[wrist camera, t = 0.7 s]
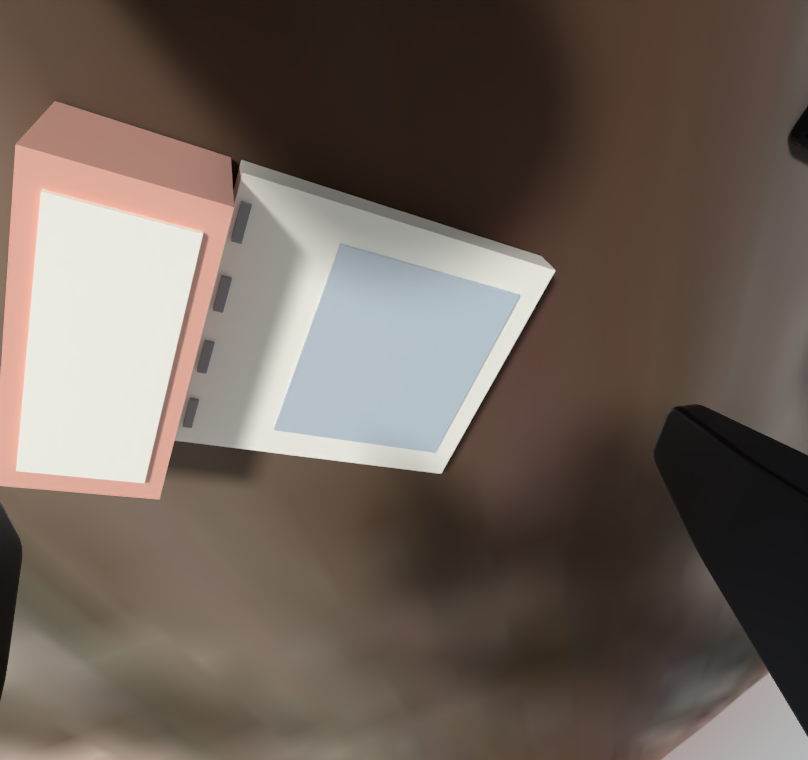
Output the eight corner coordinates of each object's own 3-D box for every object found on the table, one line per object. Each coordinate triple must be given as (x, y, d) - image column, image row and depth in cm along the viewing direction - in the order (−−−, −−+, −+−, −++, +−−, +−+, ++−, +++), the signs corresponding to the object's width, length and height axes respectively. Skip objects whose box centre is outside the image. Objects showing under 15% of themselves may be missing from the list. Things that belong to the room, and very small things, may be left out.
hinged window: (541, 256, 22) (557, 272, 21) (433, 455, 27) (442, 476, 26) (241, 159, 18) (242, 174, 17) (175, 419, 22) (173, 443, 21)
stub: (230, 157, 17) (234, 209, 14) (167, 419, 22) (159, 503, 19) (55, 100, 16) (13, 146, 12) (26, 400, 20) (-9, 489, 17)
